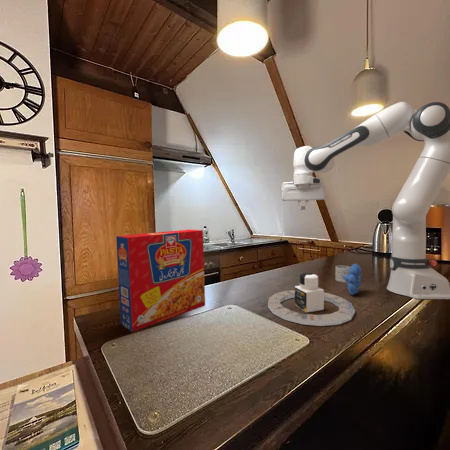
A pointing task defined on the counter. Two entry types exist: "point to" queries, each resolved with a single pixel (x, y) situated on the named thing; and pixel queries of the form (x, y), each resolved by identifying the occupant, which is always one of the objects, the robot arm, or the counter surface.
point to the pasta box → (159, 276)
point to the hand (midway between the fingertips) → (303, 209)
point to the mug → (341, 272)
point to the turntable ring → (335, 318)
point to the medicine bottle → (309, 293)
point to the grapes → (353, 279)
